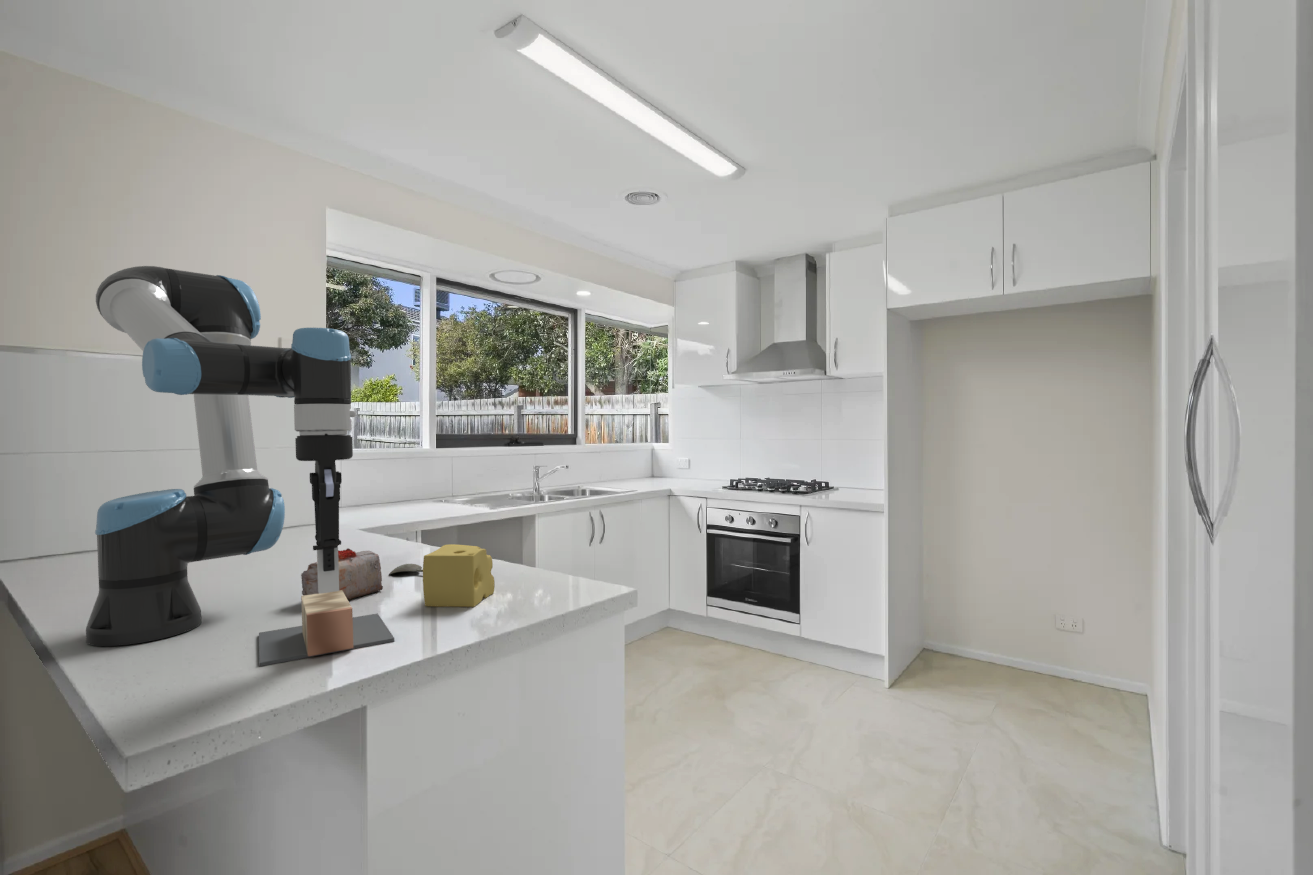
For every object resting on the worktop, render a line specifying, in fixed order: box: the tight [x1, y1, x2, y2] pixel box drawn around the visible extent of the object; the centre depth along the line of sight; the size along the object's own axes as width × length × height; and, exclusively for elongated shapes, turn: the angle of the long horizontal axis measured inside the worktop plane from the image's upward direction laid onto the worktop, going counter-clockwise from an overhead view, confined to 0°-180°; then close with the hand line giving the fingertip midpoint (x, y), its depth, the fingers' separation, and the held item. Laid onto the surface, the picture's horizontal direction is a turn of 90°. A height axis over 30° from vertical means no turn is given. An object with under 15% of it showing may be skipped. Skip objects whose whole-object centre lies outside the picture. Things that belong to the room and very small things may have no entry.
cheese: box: [422, 543, 495, 608], centre depth 123 cm, size 10×11×10 cm
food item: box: [300, 548, 384, 601], centre depth 126 cm, size 14×8×10 cm, turn 153°
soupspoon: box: [388, 563, 423, 576], centre depth 143 cm, size 22×3×7 cm
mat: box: [258, 613, 395, 667], centre depth 101 cm, size 18×16×1 cm
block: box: [301, 590, 354, 657], centre depth 99 cm, size 6×6×13 cm
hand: (328, 591), depth 94 cm, fingers closed
